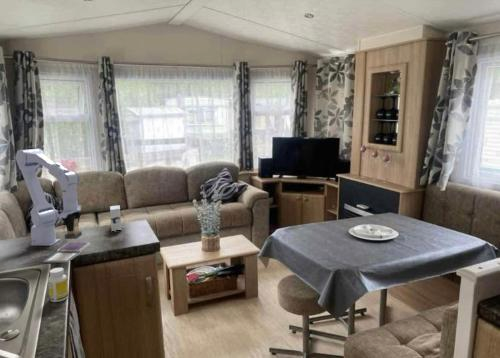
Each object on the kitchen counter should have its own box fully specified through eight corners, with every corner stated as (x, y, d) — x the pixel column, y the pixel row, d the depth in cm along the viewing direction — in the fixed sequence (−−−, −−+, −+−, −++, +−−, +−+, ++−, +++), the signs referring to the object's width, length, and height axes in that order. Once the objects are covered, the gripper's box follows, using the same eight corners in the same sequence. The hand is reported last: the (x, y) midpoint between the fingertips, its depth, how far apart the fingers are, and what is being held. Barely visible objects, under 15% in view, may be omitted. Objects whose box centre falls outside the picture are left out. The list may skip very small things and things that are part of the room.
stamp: (65, 238, 161) (63, 221, 160) (70, 235, 166) (69, 217, 165) (76, 238, 161) (74, 221, 160) (81, 235, 166) (80, 218, 165)
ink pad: (57, 252, 160) (56, 249, 160) (68, 244, 170) (68, 241, 169) (80, 252, 160) (79, 249, 159) (90, 244, 169) (90, 241, 169)
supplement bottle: (71, 294, 123) (68, 266, 121) (63, 302, 117) (61, 273, 116) (54, 294, 123) (52, 266, 121) (46, 302, 117) (43, 273, 116)
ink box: (111, 227, 196) (109, 205, 194) (121, 226, 198) (119, 205, 196) (111, 232, 188) (109, 209, 186) (121, 231, 190) (120, 208, 188)
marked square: (43, 262, 149) (43, 261, 149) (56, 253, 159) (56, 252, 159) (67, 262, 149) (67, 261, 149) (79, 253, 159) (79, 252, 159)
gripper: (71, 203, 154) (73, 234, 156) (86, 196, 168) (89, 224, 170) (54, 203, 154) (57, 234, 156) (71, 195, 168) (73, 224, 170)
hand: (72, 229), depth 163 cm, fingers closed on stamp, 3 cm apart
